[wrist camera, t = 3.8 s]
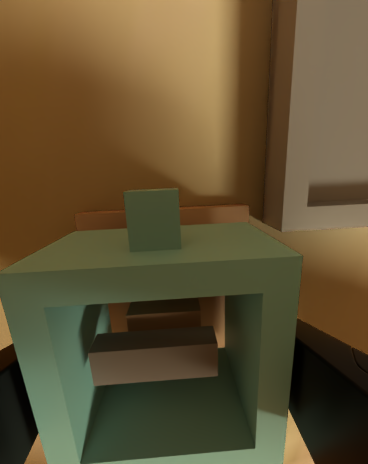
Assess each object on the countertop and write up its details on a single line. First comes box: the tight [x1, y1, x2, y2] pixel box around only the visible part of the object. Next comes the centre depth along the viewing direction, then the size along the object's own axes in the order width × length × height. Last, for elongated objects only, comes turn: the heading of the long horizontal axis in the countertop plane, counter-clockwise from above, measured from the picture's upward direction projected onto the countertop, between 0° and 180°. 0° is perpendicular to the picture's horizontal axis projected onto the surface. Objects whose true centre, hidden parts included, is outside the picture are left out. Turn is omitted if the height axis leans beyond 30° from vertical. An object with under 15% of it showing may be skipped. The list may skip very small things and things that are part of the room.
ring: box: [0, 188, 303, 464], centre depth 7 cm, size 9×7×4 cm
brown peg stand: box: [74, 204, 249, 386], centre depth 9 cm, size 8×8×5 cm
